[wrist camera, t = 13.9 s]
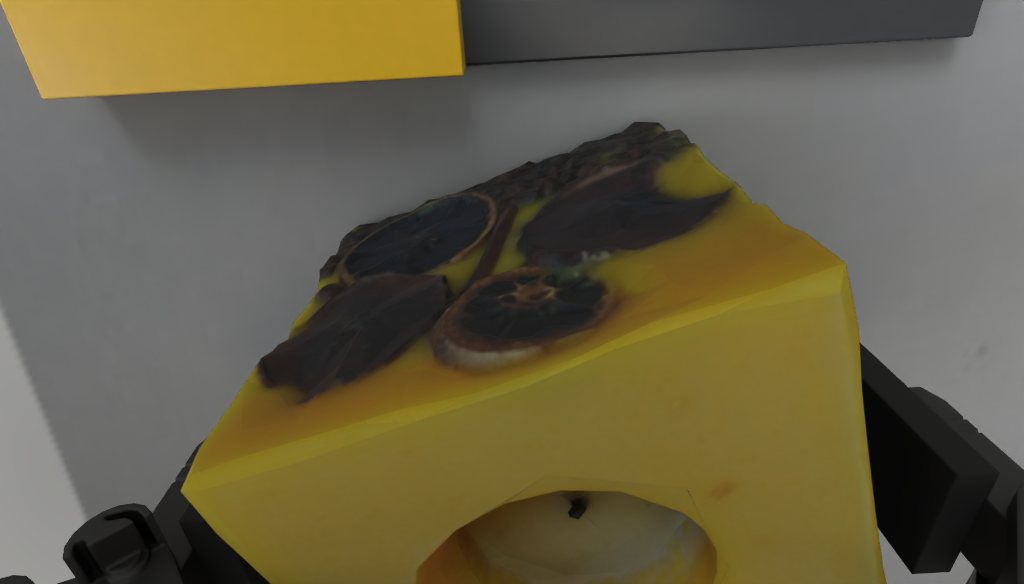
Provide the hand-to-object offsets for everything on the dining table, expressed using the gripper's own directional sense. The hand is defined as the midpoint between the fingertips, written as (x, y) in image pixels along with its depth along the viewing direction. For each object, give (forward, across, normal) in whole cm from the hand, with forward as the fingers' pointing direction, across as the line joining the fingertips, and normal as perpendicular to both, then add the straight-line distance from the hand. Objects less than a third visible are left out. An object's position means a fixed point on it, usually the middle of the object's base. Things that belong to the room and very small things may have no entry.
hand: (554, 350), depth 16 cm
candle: (+3, 0, 0) cm, 3 cm away
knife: (+2, 0, +9) cm, 9 cm away
